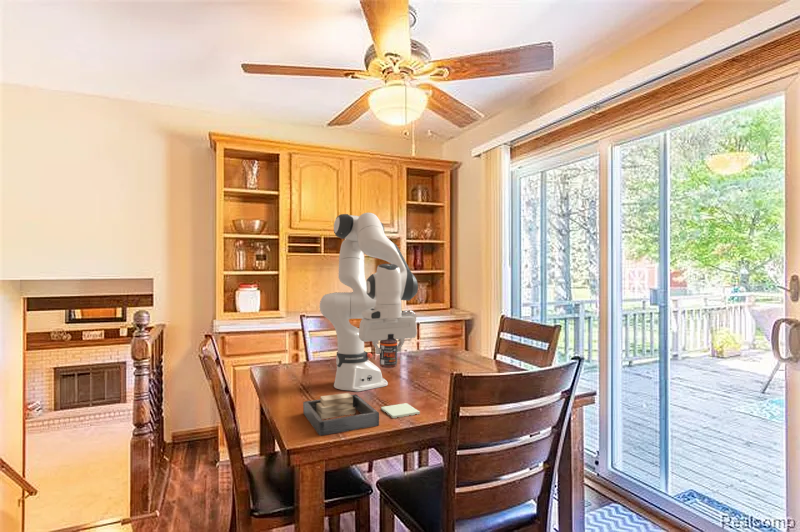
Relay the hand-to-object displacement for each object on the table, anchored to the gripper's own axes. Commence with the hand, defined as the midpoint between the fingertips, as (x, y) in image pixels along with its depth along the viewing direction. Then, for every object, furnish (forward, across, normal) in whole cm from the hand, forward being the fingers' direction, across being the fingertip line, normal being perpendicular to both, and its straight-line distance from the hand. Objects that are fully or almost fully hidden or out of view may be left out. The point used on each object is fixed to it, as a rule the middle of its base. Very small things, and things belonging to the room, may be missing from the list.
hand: (388, 352), depth 145 cm
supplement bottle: (+5, 0, 0) cm, 5 cm away
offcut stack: (+21, +16, -8) cm, 28 cm away
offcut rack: (+21, +16, -2) cm, 27 cm away
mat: (+21, -4, 0) cm, 21 cm away
